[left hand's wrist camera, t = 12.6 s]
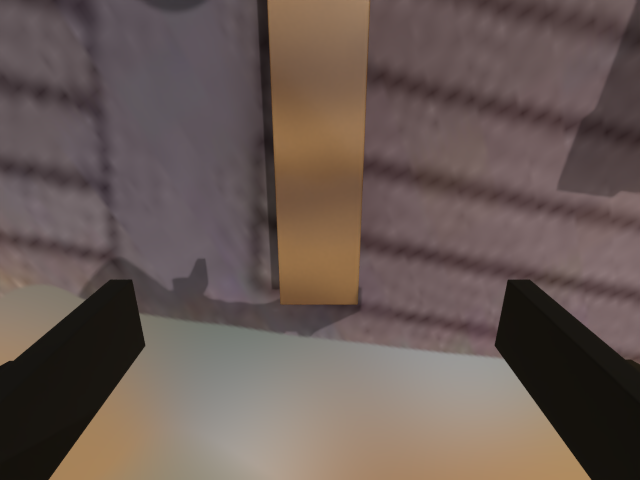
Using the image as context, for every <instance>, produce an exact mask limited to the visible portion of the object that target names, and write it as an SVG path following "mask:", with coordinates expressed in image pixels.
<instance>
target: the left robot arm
mask: <svg viewBox="0 0 640 480" xmlns="http://www.w3.org/2000/svg"><path fill="white" fill-rule="evenodd" d="M144 347H145V341H144V336H143V332H142V326H141V321H140V316H139V311H138V306H137V301H136V296H135V291H134V286H133V281H132V280H109V281H108V282H107V283H106V284H104V285H103V286H102V287H101V288H100V289H99V290H97V291H96V292H95V293H94V294H93V295H91V296H90V297H89V298H88V299H87V300H85V301H84V302H83V303H82V304H81V305H80V306H78V307H77V308H76V309H75V310H73V311H72V312H71V313H70V314H69V315H68V316H66V317H65V318H64V319H63V320H62V321H60V322H59V323H58V324H57V325H56V326H55V327H53V328H52V329H51V330H50V331H48V332H47V333H46V334H45V335H44V336H43V337H41V338H40V339H39V340H38V341H37V342H35V343H34V344H33V345H32V346H31V347H29V348H28V349H27V350H26V351H25V352H23V353H22V354H21V355H20V356H19V357H17V358H16V359H15V360H14V361H8V362H7V363H5V364H3V365H1V366H0V480H49V478H50V477H51V476H52V474H53V473H54V472H55V470H56V469H57V467H58V466H59V465H60V463H61V462H62V460H63V459H64V458H65V456H66V455H67V453H68V452H69V451H70V449H71V448H72V447H73V445H74V444H75V442H76V441H77V440H78V438H79V437H80V435H81V434H82V433H83V431H84V430H85V429H86V427H87V426H88V424H89V423H90V422H91V420H92V419H93V417H94V416H95V415H96V413H97V412H98V410H99V409H100V408H101V406H102V405H103V404H104V402H105V401H106V399H107V398H108V397H109V395H110V394H111V393H112V391H113V390H114V388H115V387H116V386H117V384H118V383H119V381H120V380H121V379H122V377H123V376H124V374H125V373H126V372H127V370H128V369H129V368H130V366H131V365H132V363H133V362H134V361H135V359H136V358H137V357H138V355H139V354H140V352H141V351H142V350H143V348H144ZM495 347H496V348H497V350H498V351H499V352H500V354H501V355H502V357H503V358H504V359H505V361H506V362H507V363H508V365H509V366H510V368H511V369H512V370H513V372H514V373H515V374H516V376H517V377H518V379H519V380H520V381H521V383H522V384H523V386H524V387H525V388H526V390H527V391H528V393H529V394H530V395H531V397H532V398H533V399H534V401H535V402H536V404H537V405H538V406H539V408H540V409H541V411H542V412H543V413H544V415H545V416H546V417H547V419H548V420H549V422H550V423H551V424H552V426H553V427H554V429H555V430H556V431H557V433H558V434H559V435H560V437H561V438H562V440H563V441H564V442H565V444H566V445H567V447H568V448H569V449H570V451H571V452H572V453H573V455H574V456H575V458H576V459H577V460H578V462H579V463H580V465H581V466H582V467H583V469H584V470H585V472H586V473H587V474H588V476H589V477H590V478H591V480H640V364H638V363H636V362H634V361H633V360H625V359H624V358H623V357H621V356H620V355H619V354H618V353H617V352H615V351H614V350H613V349H612V348H611V347H609V346H608V345H607V344H606V343H605V342H603V341H602V340H601V339H600V338H599V337H597V336H596V335H595V334H594V333H593V332H592V331H590V330H589V329H588V328H587V327H586V326H584V325H583V324H582V323H581V322H580V321H578V320H577V319H576V318H575V317H574V316H572V315H571V314H570V313H569V312H568V311H567V310H565V309H564V308H563V307H562V306H561V305H559V304H558V303H557V302H556V301H555V300H553V299H552V298H551V297H550V296H549V295H547V294H546V293H545V292H544V291H543V290H541V289H540V288H539V287H538V286H537V285H536V284H534V283H533V282H532V281H531V280H508V281H507V286H506V291H505V296H504V301H503V306H502V311H501V316H500V321H499V326H498V331H497V336H496V341H495Z"/></svg>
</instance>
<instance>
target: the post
mask: <svg viewBox="0 0 640 480" xmlns="http://www.w3.org/2000/svg"><path fill="white" fill-rule="evenodd" d="M267 6H268V29H269V52H270V75H271V98H272V121H273V144H274V167H275V190H276V213H277V236H278V260H279V283H280V304H358V285H359V260H360V236H361V211H362V187H363V163H364V138H365V114H366V89H367V65H368V40H369V16H370V0H267Z"/></svg>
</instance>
